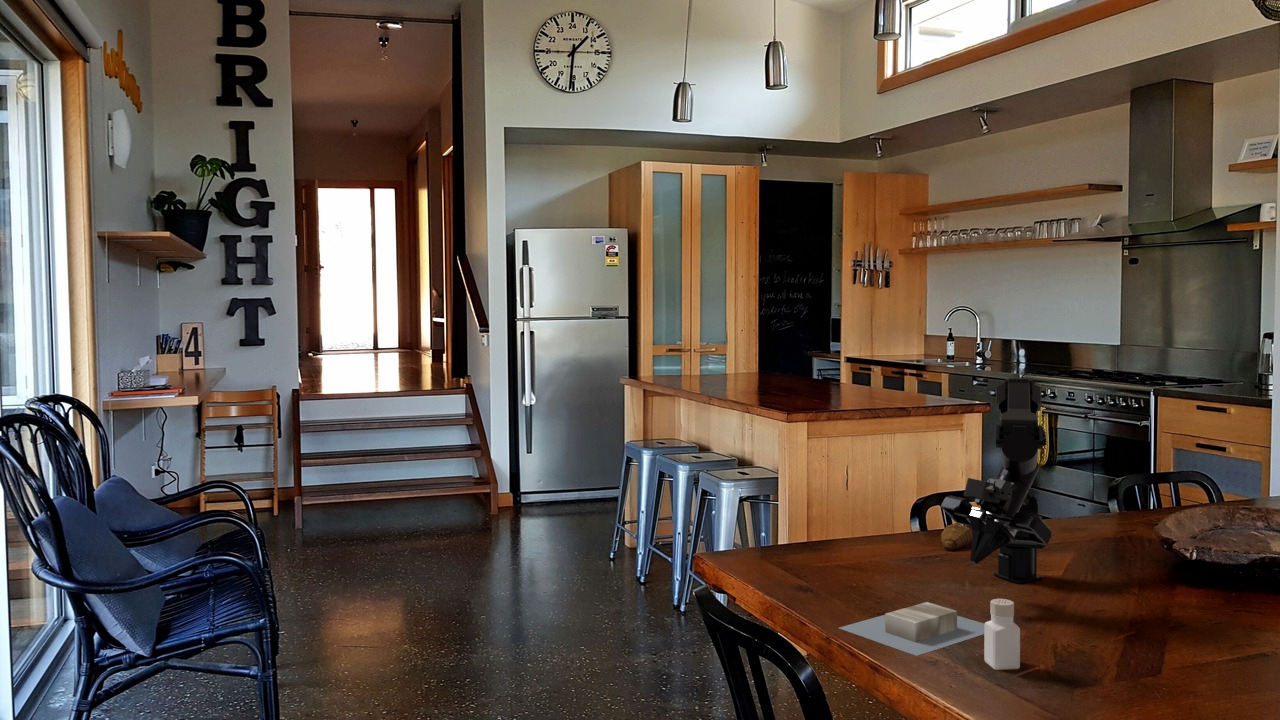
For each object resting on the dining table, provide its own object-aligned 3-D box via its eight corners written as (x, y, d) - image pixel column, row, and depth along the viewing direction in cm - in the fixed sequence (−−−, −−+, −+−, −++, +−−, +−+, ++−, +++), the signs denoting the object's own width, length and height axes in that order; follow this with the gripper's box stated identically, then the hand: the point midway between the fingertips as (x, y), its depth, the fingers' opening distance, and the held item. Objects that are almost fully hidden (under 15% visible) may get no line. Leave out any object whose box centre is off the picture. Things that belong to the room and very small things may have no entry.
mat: (920, 606, 175) (920, 604, 175) (1000, 630, 162) (1000, 628, 162) (838, 629, 164) (838, 627, 164) (916, 657, 150) (916, 655, 150)
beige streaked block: (927, 601, 167) (885, 613, 161) (957, 610, 162) (915, 623, 156) (927, 619, 167) (885, 632, 161) (957, 629, 162) (915, 642, 156)
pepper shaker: (982, 662, 148) (982, 598, 148) (1009, 660, 149) (1009, 597, 148) (994, 672, 144) (994, 606, 144) (1021, 670, 145) (1022, 605, 144)
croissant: (964, 554, 210) (964, 530, 210) (932, 550, 214) (932, 527, 213) (981, 540, 221) (981, 518, 221) (949, 537, 225) (949, 514, 225)
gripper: (945, 450, 179) (905, 526, 174) (1038, 468, 163) (998, 551, 159) (975, 484, 184) (937, 558, 180) (1069, 503, 169) (1030, 585, 164)
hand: (973, 562), depth 170 cm, fingers closed
